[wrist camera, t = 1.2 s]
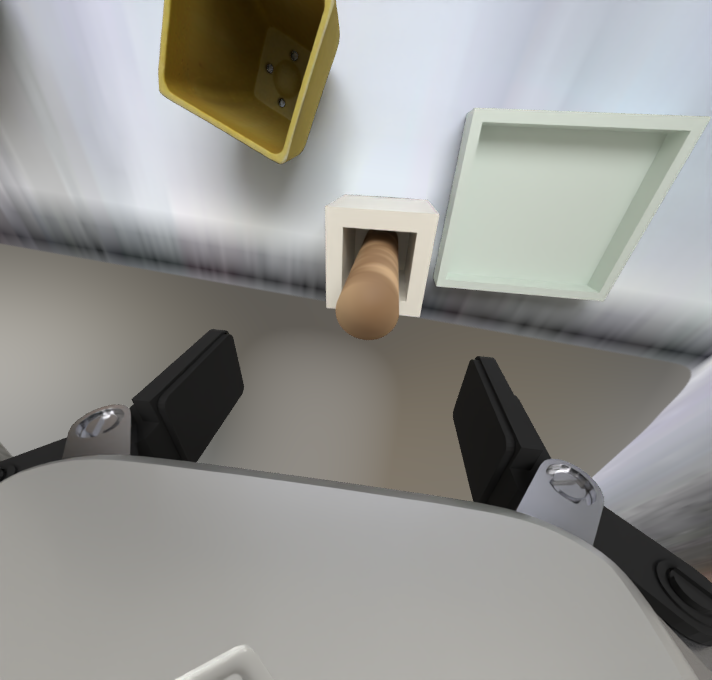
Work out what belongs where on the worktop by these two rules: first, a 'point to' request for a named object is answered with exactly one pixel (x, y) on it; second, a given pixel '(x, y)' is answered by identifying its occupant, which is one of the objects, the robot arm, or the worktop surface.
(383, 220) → the white square holder
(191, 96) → the flower pot
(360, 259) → the dowel
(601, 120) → the tray
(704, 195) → the worktop surface
